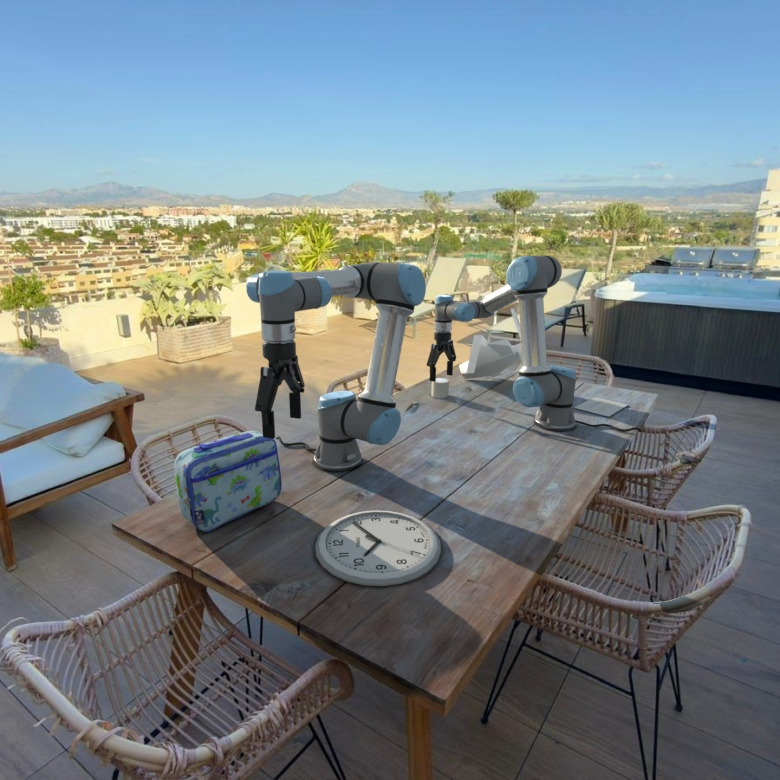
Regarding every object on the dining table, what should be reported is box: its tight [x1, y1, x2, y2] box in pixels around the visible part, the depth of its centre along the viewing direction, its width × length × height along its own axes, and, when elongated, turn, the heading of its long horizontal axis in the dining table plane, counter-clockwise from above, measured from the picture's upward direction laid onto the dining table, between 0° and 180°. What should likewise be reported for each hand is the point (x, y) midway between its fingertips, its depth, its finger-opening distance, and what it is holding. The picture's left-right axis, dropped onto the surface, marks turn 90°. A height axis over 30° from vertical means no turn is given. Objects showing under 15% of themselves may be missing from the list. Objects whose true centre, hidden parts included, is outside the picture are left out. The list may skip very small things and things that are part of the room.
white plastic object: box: [458, 307, 523, 380], centre depth 255 cm, size 37×45×31 cm
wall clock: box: [314, 509, 442, 587], centre depth 125 cm, size 30×2×30 cm
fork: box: [405, 396, 421, 411], centre depth 222 cm, size 3×16×2 cm, turn 160°
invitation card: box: [573, 396, 629, 418], centre depth 226 cm, size 21×1×15 cm
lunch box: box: [173, 430, 283, 533], centre depth 135 cm, size 26×11×21 cm, turn 134°
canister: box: [430, 377, 450, 399], centre depth 236 cm, size 8×8×7 cm
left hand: (283, 427), depth 126 cm, fingers open, 13 cm apart
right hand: (441, 378), depth 235 cm, fingers open, 13 cm apart
